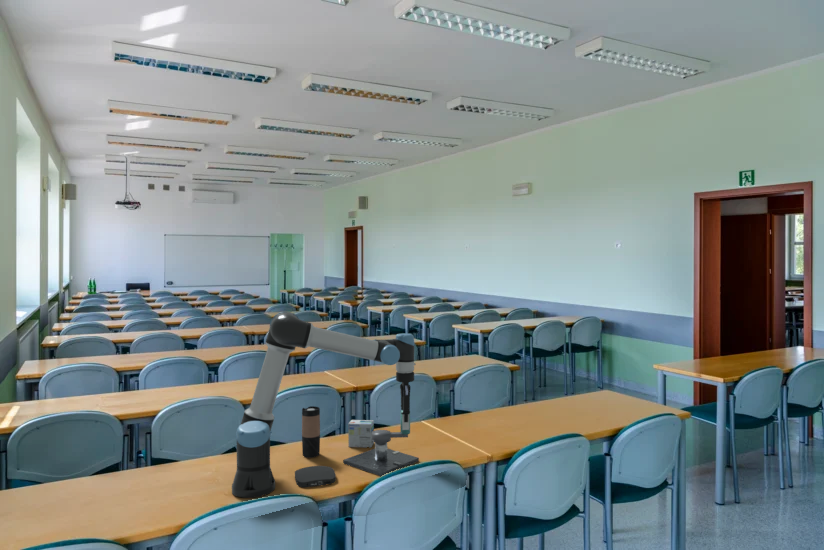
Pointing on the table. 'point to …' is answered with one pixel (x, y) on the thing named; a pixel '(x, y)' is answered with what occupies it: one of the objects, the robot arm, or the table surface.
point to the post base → (380, 465)
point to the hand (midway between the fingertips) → (405, 427)
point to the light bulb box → (360, 433)
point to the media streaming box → (315, 476)
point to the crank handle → (389, 434)
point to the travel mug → (311, 431)
